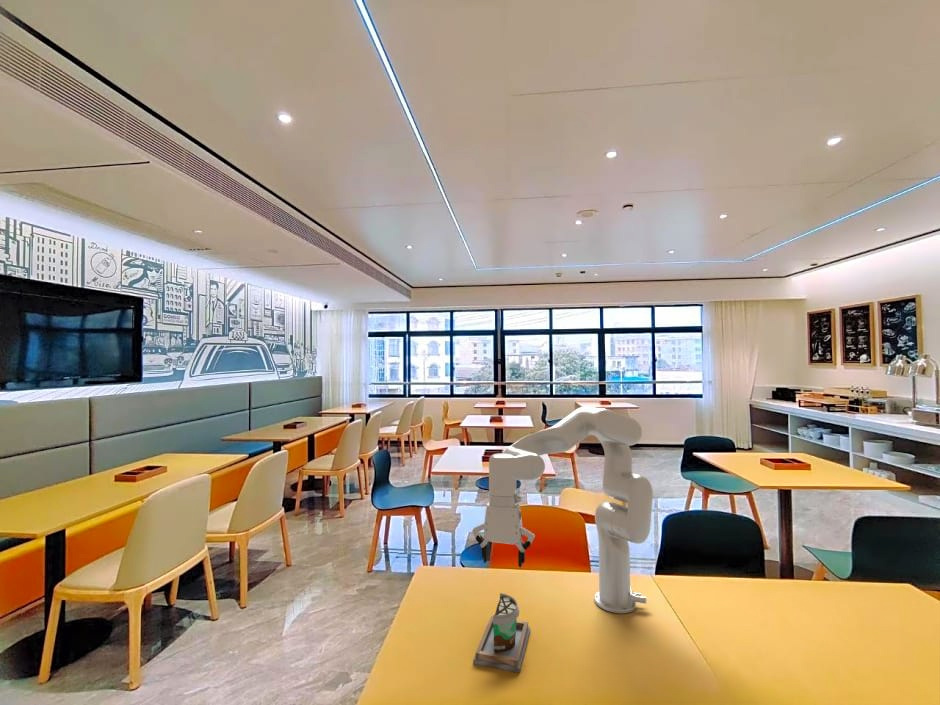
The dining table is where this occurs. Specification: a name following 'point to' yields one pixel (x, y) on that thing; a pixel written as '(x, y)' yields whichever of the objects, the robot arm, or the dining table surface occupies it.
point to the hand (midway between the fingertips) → (503, 562)
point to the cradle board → (502, 660)
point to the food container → (505, 623)
